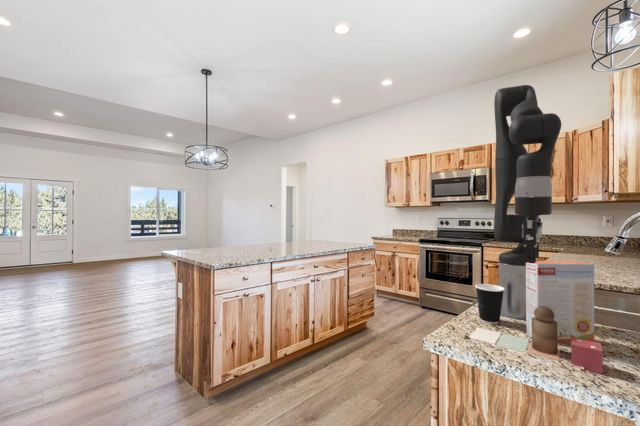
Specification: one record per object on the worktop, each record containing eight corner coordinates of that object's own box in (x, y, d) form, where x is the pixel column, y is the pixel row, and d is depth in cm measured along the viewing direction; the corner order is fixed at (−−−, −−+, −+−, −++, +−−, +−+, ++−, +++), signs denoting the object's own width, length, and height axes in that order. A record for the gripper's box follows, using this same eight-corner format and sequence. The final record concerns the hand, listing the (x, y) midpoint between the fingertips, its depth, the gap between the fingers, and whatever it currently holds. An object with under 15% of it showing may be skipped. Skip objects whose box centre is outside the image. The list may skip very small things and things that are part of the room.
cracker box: (577, 335, 83) (578, 260, 83) (595, 345, 77) (596, 264, 77) (524, 333, 84) (524, 259, 84) (537, 342, 78) (538, 263, 78)
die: (571, 358, 70) (571, 336, 70) (600, 365, 67) (600, 343, 67) (571, 366, 66) (571, 344, 66) (602, 375, 63) (602, 351, 63)
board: (476, 328, 88) (476, 326, 88) (562, 348, 75) (562, 345, 75) (466, 340, 79) (466, 338, 79) (561, 365, 67) (561, 362, 67)
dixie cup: (509, 324, 91) (510, 288, 91) (495, 329, 87) (495, 291, 87) (483, 316, 98) (484, 282, 98) (469, 320, 94) (469, 285, 94)
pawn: (532, 342, 77) (532, 302, 77) (557, 348, 74) (557, 305, 73) (531, 350, 73) (530, 307, 73) (557, 356, 70) (556, 311, 70)
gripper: (518, 196, 83) (517, 255, 83) (510, 195, 72) (509, 262, 72) (553, 196, 78) (552, 258, 78) (550, 194, 67) (549, 266, 67)
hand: (531, 260), depth 75 cm, fingers open, 8 cm apart
